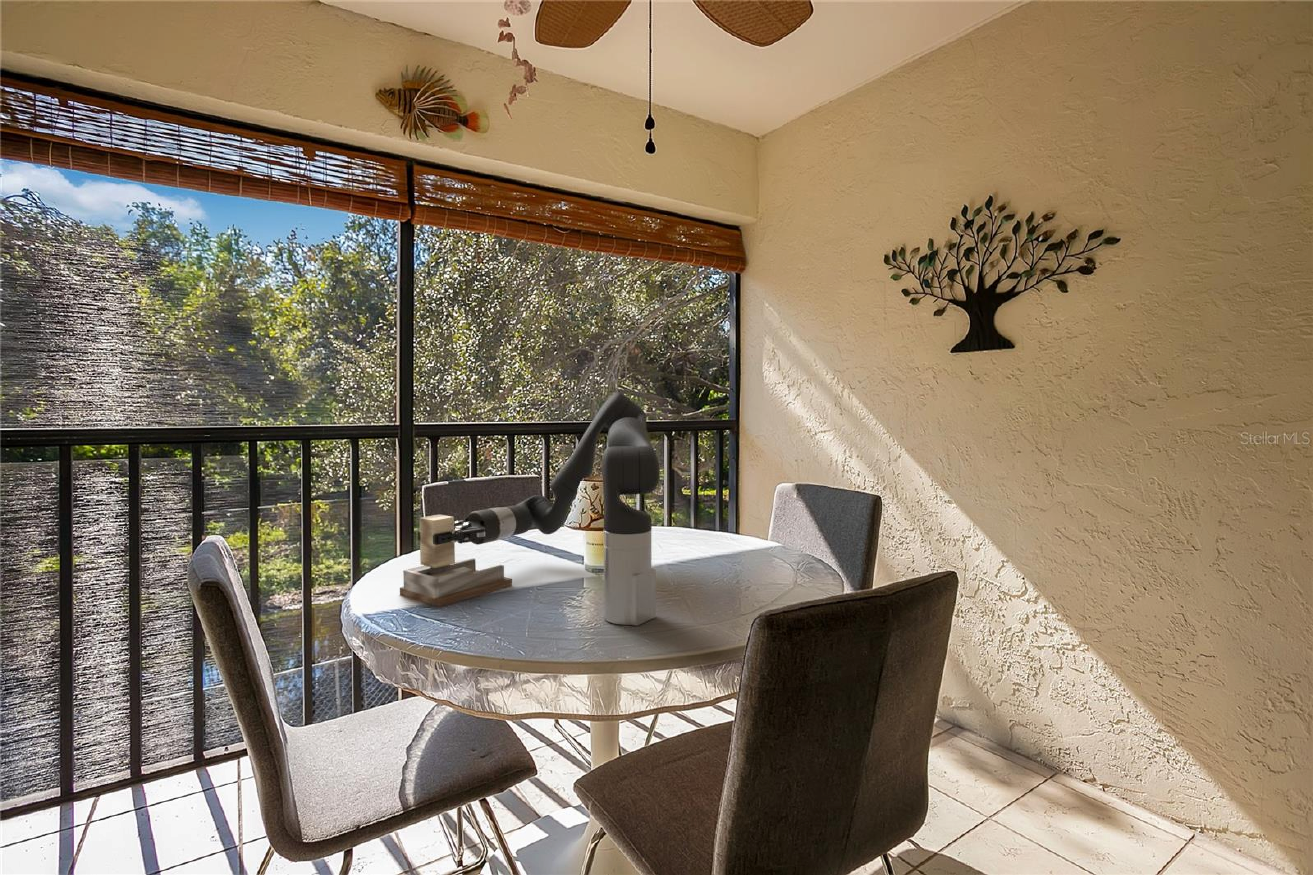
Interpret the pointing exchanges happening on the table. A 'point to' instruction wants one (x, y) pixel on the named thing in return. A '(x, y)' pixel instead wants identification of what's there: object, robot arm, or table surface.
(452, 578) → the track
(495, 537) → the robot arm
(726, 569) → the table surface
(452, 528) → the keyhole post
